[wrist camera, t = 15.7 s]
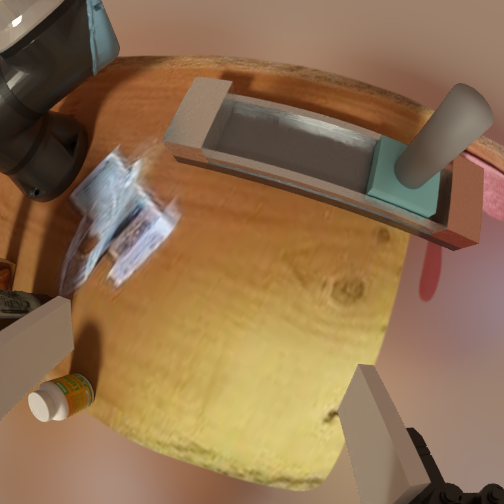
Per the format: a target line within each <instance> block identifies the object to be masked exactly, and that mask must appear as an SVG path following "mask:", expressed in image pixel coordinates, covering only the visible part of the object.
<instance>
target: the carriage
mask: <svg viewBox="0 0 504 504" xmlns="http://www.w3.org/2000/svg"><path fill="white" fill-rule="evenodd" d="M492 124H493V113H492V110H491V108H490V106H489V104H488V103H487V101H486V100H485V98H484V97H483V96H482V95H481V94H480V93H479V92H478V91H476V90H475V89H474V88H472V87H470V86H468V85H466V84H462V83H459V84H456V85H455V86H454V87H453V88H452V89H451V91H450V92H449V93H448V95H447V96H446V98H445V99H444V100H443V102H442V103H441V104H440V106H439V107H438V108H437V110H436V111H435V112H434V113H433V115H432V116H431V117H430V119H429V120H428V121H427V123H426V124H425V125H424V127H423V128H422V129H421V130H420V132H419V133H418V134H417V136H416V137H415V138H414V139H413V141H412V142H411V143H410V144H409V145H407V144H404V143H402V142H399V141H397V140H394V139H392V138H389V137H387V136H384V135H382V136H381V138H380V139H379V141H378V143H377V144H376V146H375V150H374V156H373V161H372V166H371V171H370V176H369V180H368V185H367V189H366V194H365V195H367V196H370V197H373V198H375V199H378V200H381V201H383V202H386V203H389V204H391V205H394V206H396V207H399V208H401V209H404V210H407V211H409V212H412V213H414V214H416V215H419V216H421V217H424V218H428V217H430V216H432V215H433V214H435V213H436V208H437V200H438V191H439V182H440V170H442V169H443V168H444V167H445V166H446V165H448V164H449V163H450V162H451V161H452V160H453V159H455V158H456V157H457V156H458V155H459V154H460V153H461V152H463V151H464V150H465V149H466V148H467V147H468V146H469V145H471V144H472V143H473V142H474V141H475V140H476V139H477V138H478V137H479V136H481V135H482V134H483V133H484V132H485V131H486V130H487V129H488V128H489V127H490V126H491V125H492Z"/></svg>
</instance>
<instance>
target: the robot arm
mask: <svg viewBox="0 0 504 504" xmlns="http://www.w3.org/2000/svg"><path fill="white" fill-rule="evenodd" d="M119 51H120V46H119V43H118V41H117V38H116V35H115V33H114V30H113V28H112V25H111V23H110V21H109V18H108V15H107V13H106V11H105V8H104V6H103V4H102V1H101V0H0V172H1V173H3V174H5V175H7V176H9V177H10V179H11V180H12V181H13V182H14V183H15V184H16V186H17V187H18V188H19V189H20V190H21V191H22V192H23V194H24V195H25V196H27V197H28V198H30V199H33V200H35V201H38V202H47V201H50V200H52V199H54V198H56V197H57V196H59V195H60V194H61V193H62V192H64V191H65V190H66V188H67V187H68V186H69V185H70V184H71V182H72V181H73V180H74V178H75V177H76V175H77V173H78V172H79V170H80V168H81V166H82V163H83V161H84V158H85V155H86V150H87V143H88V138H87V132H86V130H85V128H84V126H83V125H82V124H81V123H80V122H79V121H77V120H76V119H75V118H73V117H71V116H68V115H65V114H61V113H58V112H54V111H50V109H51V108H52V107H53V106H54V105H55V104H57V103H58V102H59V101H60V100H61V99H63V98H64V97H65V96H66V95H68V94H69V93H70V92H71V91H73V90H74V89H75V88H77V87H78V86H79V85H81V84H82V83H83V82H85V81H86V80H87V79H89V78H90V77H92V76H93V77H94V76H95V75H97V72H99V71H100V70H101V69H103V68H104V67H105V66H107V65H108V64H110V63H111V62H112V61H114V60H115V59H116V58H117V56H118V54H119ZM73 350H74V341H73V331H72V319H71V302H70V300H69V299H66V298H64V297H61V296H57V297H55V298H54V299H52V300H50V301H49V302H47V303H45V304H44V305H42V306H40V307H39V308H37V309H35V310H34V311H32V312H30V313H29V314H27V315H25V316H24V317H22V318H21V319H19V320H17V321H16V322H14V323H13V324H11V325H9V326H8V327H6V328H5V329H3V330H2V331H0V420H1V419H2V418H3V417H4V416H5V415H6V414H7V413H8V412H9V411H10V410H11V409H12V408H13V407H14V406H15V405H16V404H17V403H18V402H19V401H20V400H21V399H22V398H23V397H24V396H25V395H26V394H27V393H28V392H29V391H30V390H31V389H32V388H33V387H34V386H35V385H37V384H38V382H40V381H41V380H42V379H43V378H44V377H45V376H46V375H47V374H48V373H49V372H50V371H51V370H52V369H53V368H54V367H56V366H57V365H58V364H59V363H60V362H61V361H62V360H63V359H64V358H65V357H66V356H67V355H68V354H70V353H71V352H72V351H73ZM338 414H339V418H340V421H341V425H342V429H343V433H344V437H345V440H346V444H347V448H348V452H349V456H350V460H351V464H352V468H353V472H354V476H355V481H356V485H357V489H358V494H359V498H360V502H361V504H504V489H503V488H502V487H501V486H499V485H497V484H488V485H487V486H485V487H484V488H483V489H482V490H481V491H480V492H479V493H463V491H462V490H461V489H460V488H459V487H458V486H456V485H454V484H451V483H445V482H444V480H443V477H442V475H441V473H440V471H439V469H438V467H437V465H436V463H435V461H434V459H433V457H432V455H430V451H429V449H428V448H427V447H426V446H427V445H426V443H425V441H424V439H423V437H422V436H421V435H420V434H419V433H418V432H417V431H416V430H415V429H414V428H405V426H404V423H403V421H402V420H401V417H400V415H399V413H398V412H397V409H396V407H395V405H394V403H393V402H392V400H391V398H390V396H389V394H388V392H387V390H386V388H385V386H384V384H383V382H382V380H381V378H380V377H379V375H378V373H377V371H376V369H375V367H374V365H363V364H358V366H357V368H356V371H355V373H354V375H353V378H352V380H351V382H350V384H349V387H348V389H347V391H346V393H345V395H344V398H343V400H342V402H341V404H340V406H339V408H338Z"/></svg>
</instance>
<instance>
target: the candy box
mask: <svg viewBox="0 0 504 504" xmlns="http://www.w3.org/2000/svg"><path fill="white" fill-rule="evenodd" d="M15 267H16V264H14V263H12V262H10V261H8V260H6V259H2V258H0V289H1V290H9V291H11V287H12V282H13V276H14V271H15Z"/></svg>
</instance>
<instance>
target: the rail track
mask: <svg viewBox="0 0 504 504" xmlns="http://www.w3.org/2000/svg"><path fill="white" fill-rule="evenodd" d="M381 136H382V134H379V133H376V132H374V131H371V130H368V129H365V128H363V127H360V126H357V125H354V124H351V123H348V122H345V121H342V120H338V119H335V118H332V117H329V116H325V115H322V114H318V113H315V112H311V111H308V110H304V109H300V108H296V107H292V106H288V105H284V104H280V103H275V102H271V101H266V100H262V99H257V98H252V97H247V96H241V95H236V93H235V89H234V84H233V81H227V80H220V79H213V78H205V77H195V79H194V81H193V83H192V84H191V86H190V88H189V90H188V91H187V93H186V95H185V97H184V99H183V100H182V102H181V104H180V106H179V108H178V110H177V112H176V114H175V115H174V117H173V119H172V121H171V123H170V125H169V127H168V129H167V131H166V133H165V135H164V137H163V139H162V142H163V143H164V144H165V146H166V147H167V148H168V150H169V151H170V152H171V153H172V155H173V156H174V157H175V159H176V160H177V161H178V162H180V163H185V164H189V165H193V166H197V167H201V168H205V169H209V170H213V171H217V172H221V173H225V174H229V175H232V176H236V177H240V178H244V179H247V180H251V181H254V182H258V183H262V184H265V185H269V186H272V187H275V188H279V189H282V190H285V191H289V192H292V193H295V194H299V195H302V196H305V197H308V198H311V199H314V200H318V201H321V202H324V203H327V204H330V205H333V206H336V207H339V208H342V209H345V210H348V211H351V212H354V213H356V214H359V215H362V216H365V217H368V218H371V219H373V220H376V221H379V222H382V223H384V224H387V225H390V226H392V227H395V228H398V229H400V230H403V231H405V232H408V233H411V234H413V235H416V236H418V237H421V238H424V239H426V240H428V241H431V242H433V243H436V244H438V245H440V246H443V247H445V248H448V249H450V250H452V251H455V250H459V249H462V248H466V247H469V246H472V245H476V244H479V239H480V230H481V220H482V206H483V181H484V169H483V168H482V167H480V166H478V165H476V164H475V163H473V162H471V161H469V160H467V159H466V158H464V157H462V156H460V155H458V156H457V157H456V158H455V159H453V160H452V161H451V162H450V163H449V164H448V165H446V166H445V167H444V168H443V169H442V170H440V182H439V191H438V200H437V208H436V213H435V214H433V215H432V216H430V217H428V218H424V217H421V216H419V215H416V214H414V213H412V212H409V211H407V210H404V209H401V208H399V207H396V206H394V205H391V204H389V203H386V202H383V201H381V200H378V199H375V198H373V197H370V196H367V195H365V194H366V189H367V185H368V180H369V176H370V171H371V166H372V161H373V156H374V150H375V146H376V144H377V143H378V141H379V139H380V138H381ZM389 138H390V137H389ZM394 140H395V139H394ZM399 142H400V141H399Z"/></svg>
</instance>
